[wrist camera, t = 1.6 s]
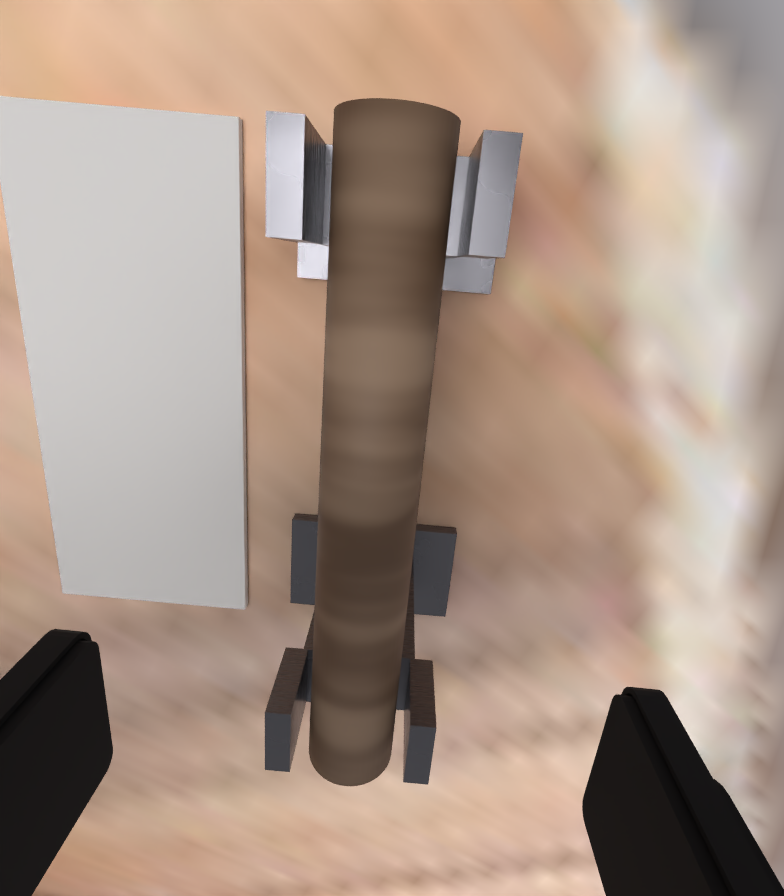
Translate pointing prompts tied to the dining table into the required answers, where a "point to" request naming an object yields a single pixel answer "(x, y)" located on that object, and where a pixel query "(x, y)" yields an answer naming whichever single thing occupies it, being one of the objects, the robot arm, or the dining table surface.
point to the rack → (467, 270)
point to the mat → (134, 341)
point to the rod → (375, 415)
